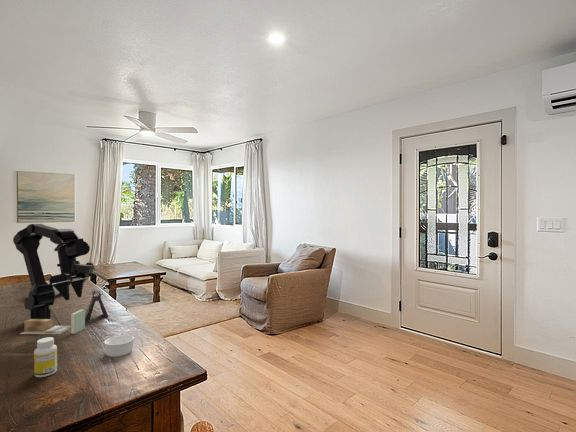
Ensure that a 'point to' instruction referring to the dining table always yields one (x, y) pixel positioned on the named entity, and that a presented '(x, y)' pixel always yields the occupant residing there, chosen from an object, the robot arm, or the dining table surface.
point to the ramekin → (119, 345)
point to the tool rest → (38, 333)
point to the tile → (77, 321)
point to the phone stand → (91, 305)
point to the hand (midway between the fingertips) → (73, 298)
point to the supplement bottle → (45, 357)
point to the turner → (43, 326)
